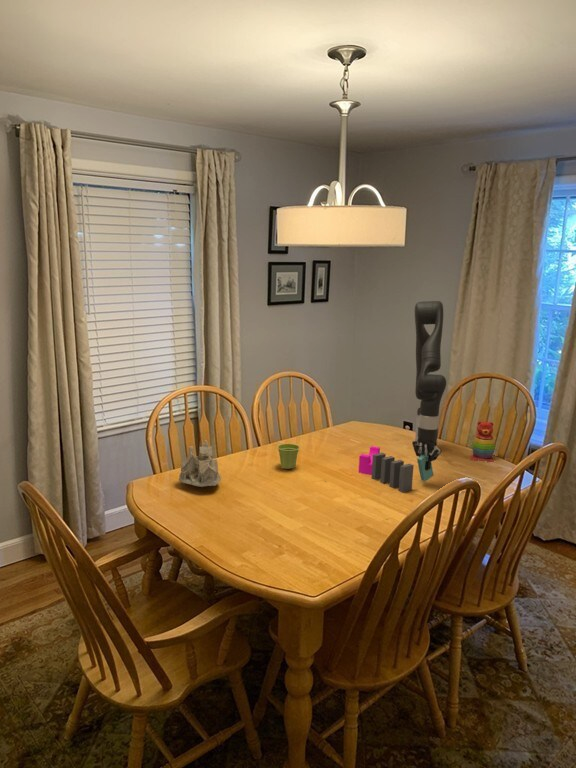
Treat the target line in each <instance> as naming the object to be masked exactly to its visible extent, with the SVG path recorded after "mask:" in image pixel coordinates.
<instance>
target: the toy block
mask: <svg viewBox="0 0 576 768" xmlns="http://www.w3.org/2000/svg"><path fill="white" fill-rule="evenodd" d="M368 452H369V453H368V454H364V453H361V454H360V455H359V458H358V460H359V461H358V473H359V474H363V475H369V476H372V460H373V454H378V453H381V447H380V446H379V447H378V446H373V445H371V446H370V447H369V451H368Z"/></svg>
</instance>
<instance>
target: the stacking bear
mask: <svg viewBox="0 0 576 768" xmlns="http://www.w3.org/2000/svg"><path fill="white" fill-rule="evenodd" d="M476 430H477V434H476V435H475V436H474V438H473V441H472V446H471V447H472V455H470V456H469V460H470V461H472V460H474V462H485V461H487V462H486V463H488V462H494V460H495V458H494V457H493V456H494V453H495V450H496V449H495V448H496V446H495V445H496V444H495V439H494V436H493V435H492V434H493V433H494V432H493V431H494V423H493V422H491V421H490V422H488V421H478V422H477V427H476ZM478 460H479V461H478ZM494 463H495V462H494Z"/></svg>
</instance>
